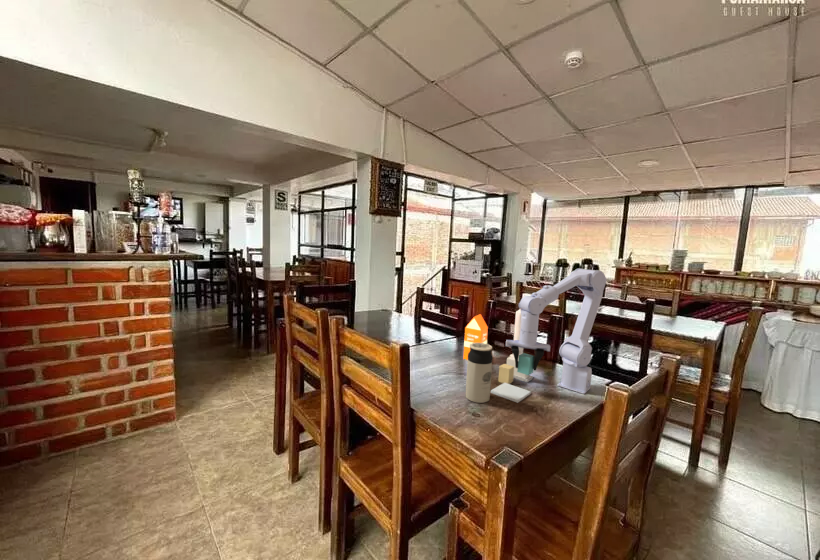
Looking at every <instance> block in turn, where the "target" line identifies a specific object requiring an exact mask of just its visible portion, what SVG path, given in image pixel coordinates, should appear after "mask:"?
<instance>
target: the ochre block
mask: <svg viewBox="0 0 820 560" xmlns="http://www.w3.org/2000/svg"><path fill="white" fill-rule="evenodd" d="M513 375H514V366H510V365H507V363H503V364H501V365H499V367H498V379H497V380H498V381H497V382H499V383H501V384H503V383H504V382H505V383H508V384H510V385H511V384H512V383H514V378H513Z"/></svg>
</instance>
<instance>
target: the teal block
mask: <svg viewBox="0 0 820 560" xmlns="http://www.w3.org/2000/svg"><path fill="white" fill-rule="evenodd" d="M534 357H535V355H532V354H529V353H525V352H523V354H521V355H519V359H518V370H517V372H519V373H523V374H526V375H530V376H531V374H533V373H534V369H533V366H534Z"/></svg>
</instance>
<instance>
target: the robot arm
mask: <svg viewBox="0 0 820 560" xmlns="http://www.w3.org/2000/svg"><path fill="white" fill-rule="evenodd" d="M606 283H607V276H606V275H605V274H604V272H603V271H602V270H600V269H599V270H598V269H596V270H595V269H584V268H581V267H579V268H576V269H575V270H573V271H571V272H570V274H569V275H568V276H566V277H565V278H563V279H562V280H559V281H558V282H557V283H555V284H554V285H542V288H541V289H539V290H538V291H536V292H532V293H531V294H530V295H524V296H523V297H522V298H521V299H520V301H519V302H518V308H519V309H520V310H521V327H520V338H519V340H514V339H505V340H506V341H505V347H510V349H511V351H512V354H513V355H514V358H515V367H516V368H518V356H519V348H518V347H520V348H523V349H530V350H534V356H535V357H534V366H533V371H537V367H538V365H539V363H540V361H541V360H542V358H543V356H544V355H545V351H546V352H551V345H550V344H548V343H542V342H538V334H539V333H538V332H539V321H540V319H539V318H540V314H541V313H543V311H544V309H545V308H546V307H547V306H548V305H550V304H553V303H554V302H555V301H556V300H557V301H558V299H559V297H560V294H562V293H565V292H567V291H569V290H571V289H573V288H574V287H577V288H578V289H579V290H580V291H581V292H582V294H583V295H584V297H583V301H582V303H581V307H580V308H579V312H578V315H577V318H576V321H575V324H574V327H573V330H572V334H571V335H569V336H568V337H566V338H564V341H563V343H562V344H561V345H560V347H559V351H558V352H559V355H560V357H561V360H562V370H561V371H562V372H561V379H560V380H561V381H560V382H558V383H557V384H556V385H557V386H558V387H561V388H563V389H566V390H569V391H570V390H571V391H573V392H576V393H580V394H582V395H585V394H586V393H587V392H588V391H589V390H590V389H591V388H592V387H591V385H592V384H591V383H592V375H593V374H592V373H593V371H592V369H593V368H592V367H589V366H588V365H589V363H590V362H591V359H592V350H593V347H592V345H591V344H590V343H589V341H588V340H589V338H590V336H591V335H590V334H591V332H592V328H593V326H594V322H595V319H596V316H597V314H598V310H599V308H600V306H601V305H600V304H601V301H602V298H603V295H604V290H605V286H606Z"/></svg>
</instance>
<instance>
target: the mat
mask: <svg viewBox="0 0 820 560" xmlns="http://www.w3.org/2000/svg"><path fill="white" fill-rule="evenodd" d="M490 394H493V395H496V396H498V397H501V398H504V399H506V400H508V401H509V400H510V401H512V402H515V403H517V404H518V403H520V402H521V401H523V400H524V399H526V398H527V397H528V396H530V395H531V394H532V392H531V390H527V389H524V388H522V387H518V386H517V385H512V384H511V383H510V384H508V383H505V382H504V383H501V384H499V385H497V386H495V388H492V389H490Z"/></svg>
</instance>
